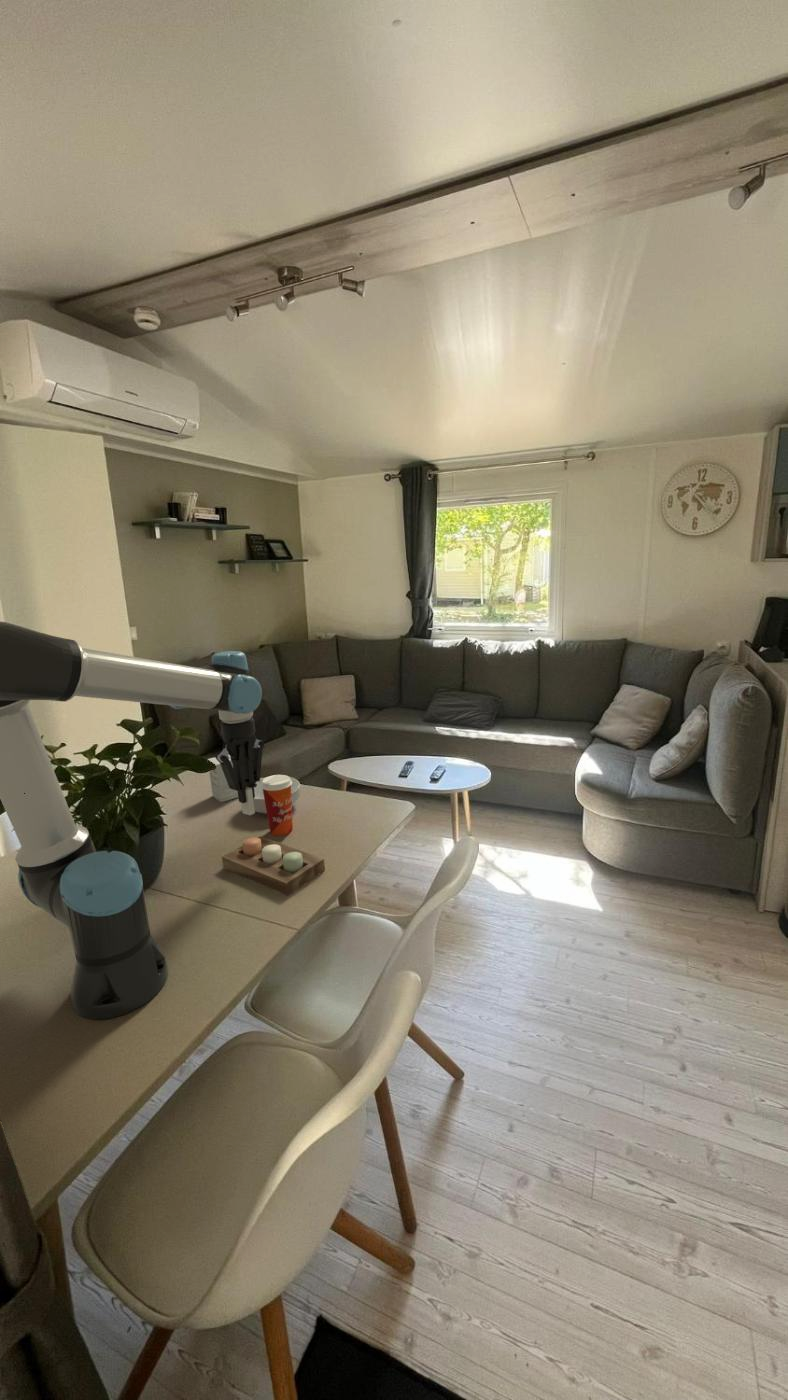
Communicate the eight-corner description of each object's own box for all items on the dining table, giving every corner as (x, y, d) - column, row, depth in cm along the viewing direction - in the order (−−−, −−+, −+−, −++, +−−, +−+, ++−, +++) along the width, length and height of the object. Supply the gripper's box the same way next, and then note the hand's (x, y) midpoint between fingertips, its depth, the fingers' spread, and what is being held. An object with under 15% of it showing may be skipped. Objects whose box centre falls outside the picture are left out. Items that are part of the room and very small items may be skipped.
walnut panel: (287, 895, 123) (286, 883, 122) (223, 868, 136) (221, 856, 135) (324, 870, 132) (323, 858, 132) (261, 846, 145) (260, 836, 144)
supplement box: (234, 789, 183) (229, 752, 180) (243, 796, 178) (238, 758, 175) (211, 796, 179) (206, 758, 176) (220, 803, 173) (215, 764, 170)
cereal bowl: (232, 812, 166) (229, 790, 165) (275, 792, 179) (273, 772, 177) (271, 826, 156) (268, 802, 154) (313, 804, 169) (311, 782, 167)
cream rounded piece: (272, 869, 131) (270, 855, 130) (259, 864, 133) (257, 850, 132) (286, 861, 134) (284, 847, 133) (273, 856, 136) (271, 842, 136)
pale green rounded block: (293, 878, 127) (292, 863, 126) (280, 872, 129) (278, 858, 128) (307, 869, 130) (306, 855, 129) (293, 864, 132) (292, 850, 132)
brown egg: (252, 861, 135) (250, 847, 134) (240, 856, 137) (238, 843, 136) (266, 853, 138) (264, 840, 137) (254, 848, 140) (252, 835, 140)
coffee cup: (280, 841, 147) (274, 787, 144) (259, 833, 152) (253, 781, 149) (303, 828, 154) (298, 777, 150) (283, 821, 159) (277, 771, 155)
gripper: (224, 728, 122) (237, 827, 128) (269, 713, 132) (279, 806, 138) (202, 724, 126) (216, 820, 132) (248, 710, 136) (258, 799, 142)
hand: (248, 813), depth 135 cm, fingers closed
